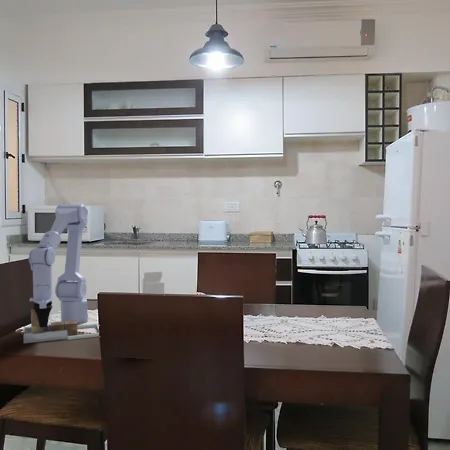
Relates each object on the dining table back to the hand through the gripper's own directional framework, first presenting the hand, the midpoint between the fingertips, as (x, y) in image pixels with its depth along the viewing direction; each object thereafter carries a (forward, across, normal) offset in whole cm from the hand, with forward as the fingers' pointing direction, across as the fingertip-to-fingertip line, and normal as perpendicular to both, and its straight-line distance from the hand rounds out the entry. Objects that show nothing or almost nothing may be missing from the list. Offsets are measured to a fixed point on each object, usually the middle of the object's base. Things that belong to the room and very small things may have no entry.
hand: (43, 325), depth 150 cm
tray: (+4, 0, +13) cm, 13 cm away
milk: (+5, +13, +34) cm, 36 cm away
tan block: (+4, 0, -1) cm, 4 cm away
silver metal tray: (+4, 0, +1) cm, 5 cm away
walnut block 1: (+4, 0, +4) cm, 6 cm away
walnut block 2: (+4, 0, +8) cm, 9 cm away
